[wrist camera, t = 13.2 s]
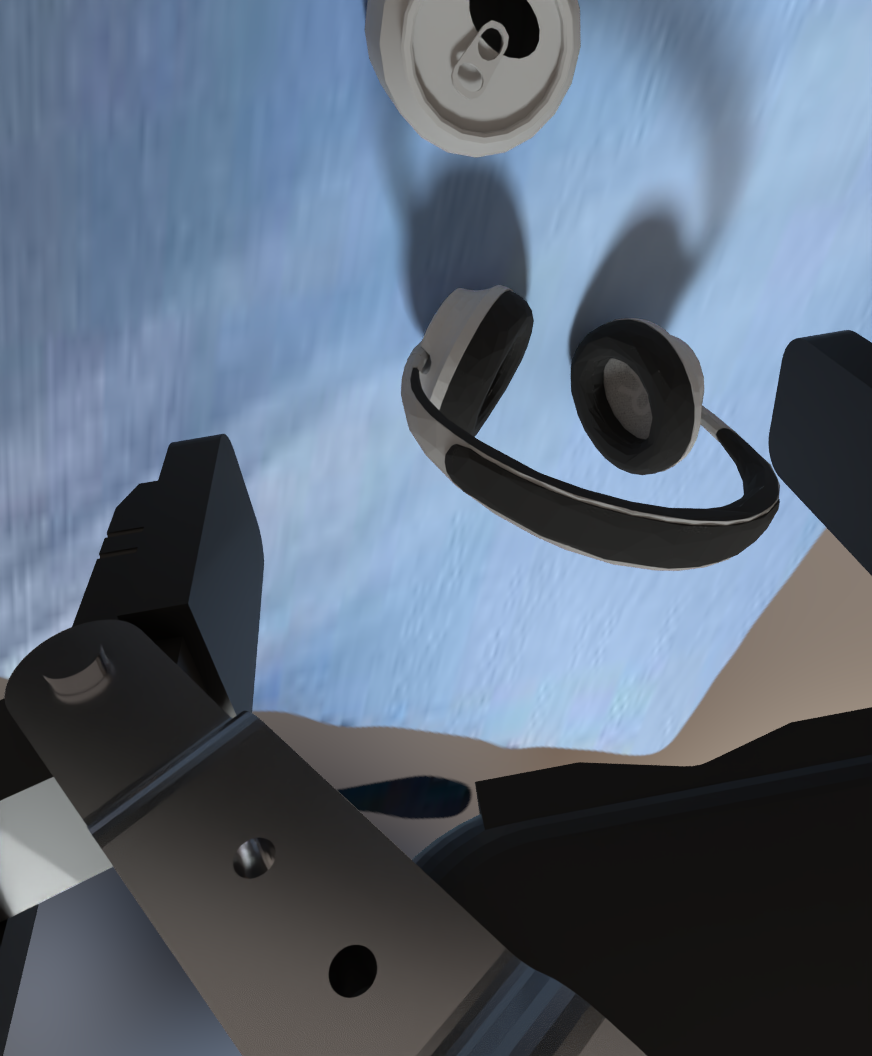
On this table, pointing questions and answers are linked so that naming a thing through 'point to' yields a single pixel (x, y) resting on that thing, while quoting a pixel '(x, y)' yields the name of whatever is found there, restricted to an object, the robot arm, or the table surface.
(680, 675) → the table surface
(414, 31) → the can
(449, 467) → the headphones
